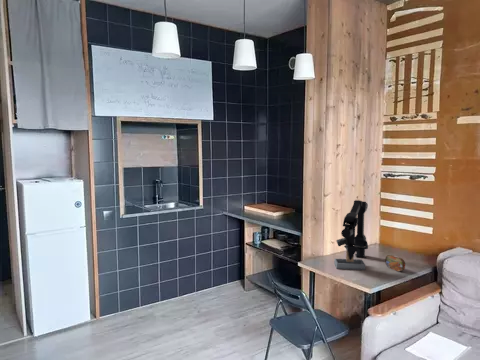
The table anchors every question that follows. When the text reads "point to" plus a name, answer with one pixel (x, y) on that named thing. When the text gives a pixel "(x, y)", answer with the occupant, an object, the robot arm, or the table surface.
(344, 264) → the bin
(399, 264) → the tin
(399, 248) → the table surface
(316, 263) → the table surface
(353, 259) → the block
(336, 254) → the table surface
